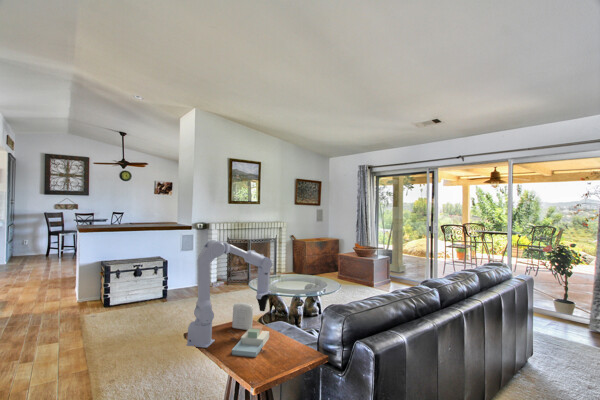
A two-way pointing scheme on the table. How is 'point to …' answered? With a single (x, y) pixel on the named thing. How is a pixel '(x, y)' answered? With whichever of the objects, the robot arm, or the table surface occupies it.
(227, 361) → the table surface
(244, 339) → the cream square block
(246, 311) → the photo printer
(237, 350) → the box
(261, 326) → the terracotta tile
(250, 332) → the sage tile
